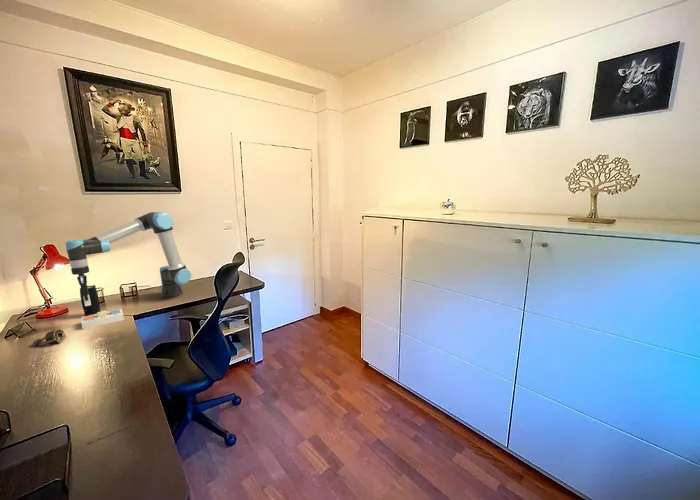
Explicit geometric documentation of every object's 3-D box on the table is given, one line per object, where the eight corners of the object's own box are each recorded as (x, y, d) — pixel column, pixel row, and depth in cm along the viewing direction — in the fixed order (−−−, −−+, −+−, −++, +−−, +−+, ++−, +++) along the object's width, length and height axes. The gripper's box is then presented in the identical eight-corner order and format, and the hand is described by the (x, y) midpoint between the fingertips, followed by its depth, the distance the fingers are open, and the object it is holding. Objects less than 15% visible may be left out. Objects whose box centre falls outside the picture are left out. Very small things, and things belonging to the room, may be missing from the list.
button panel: (122, 314, 191) (121, 308, 190) (123, 319, 182) (122, 313, 181) (83, 323, 179) (81, 316, 178) (82, 329, 170) (81, 322, 169)
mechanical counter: (47, 339, 147) (67, 326, 156) (24, 336, 148) (46, 323, 157) (52, 350, 149) (72, 337, 159) (30, 347, 151) (51, 334, 160)
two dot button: (107, 314, 183) (106, 310, 182) (107, 316, 179) (106, 312, 179) (98, 316, 180) (97, 312, 179) (98, 318, 177) (97, 314, 176)
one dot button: (119, 312, 187) (118, 307, 186) (120, 314, 183) (119, 309, 183) (110, 314, 184) (109, 309, 183) (111, 316, 180) (110, 311, 180)
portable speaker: (89, 318, 187) (84, 289, 183) (81, 316, 190) (75, 287, 187) (104, 313, 194) (99, 285, 191) (96, 311, 198) (90, 284, 194)
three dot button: (95, 319, 179) (94, 314, 179) (95, 321, 176) (94, 316, 175) (85, 321, 176) (84, 316, 176) (85, 323, 173) (84, 318, 172)
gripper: (71, 266, 173) (79, 304, 177) (70, 269, 163) (79, 310, 167) (88, 263, 178) (96, 301, 182) (88, 267, 168) (96, 306, 172)
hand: (88, 305), depth 175 cm, fingers closed
